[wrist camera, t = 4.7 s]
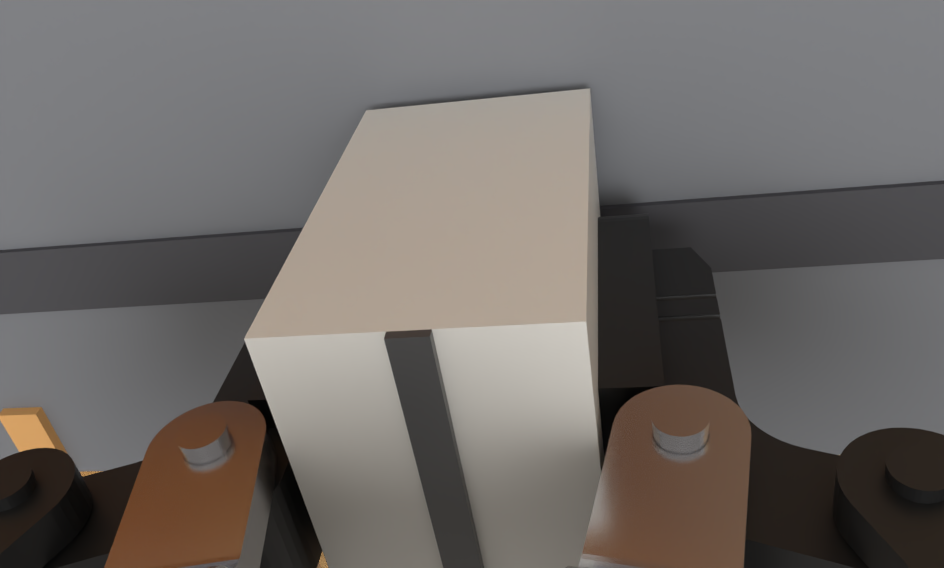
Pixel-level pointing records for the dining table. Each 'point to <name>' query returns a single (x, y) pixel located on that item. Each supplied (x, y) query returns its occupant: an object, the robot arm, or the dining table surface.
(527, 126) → the block
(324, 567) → the dining table surface
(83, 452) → the slider board
